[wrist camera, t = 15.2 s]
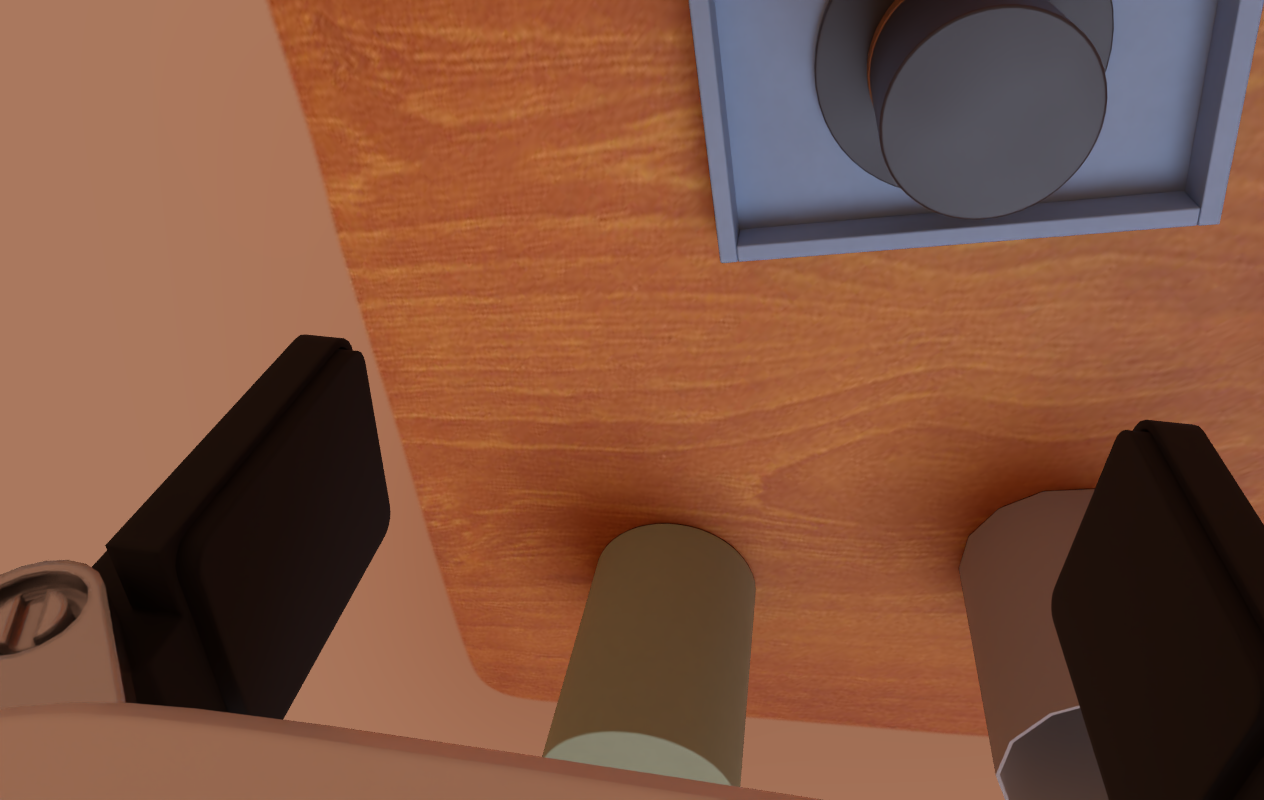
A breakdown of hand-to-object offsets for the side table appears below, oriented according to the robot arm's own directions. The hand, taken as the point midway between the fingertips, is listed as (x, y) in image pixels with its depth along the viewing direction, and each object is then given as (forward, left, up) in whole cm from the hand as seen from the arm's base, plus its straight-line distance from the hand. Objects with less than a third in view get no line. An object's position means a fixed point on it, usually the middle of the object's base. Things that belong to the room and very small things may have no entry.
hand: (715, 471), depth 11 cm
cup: (+22, -10, -21) cm, 32 cm away
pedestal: (+10, -22, -21) cm, 32 cm away
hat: (+4, +3, -21) cm, 21 cm away
